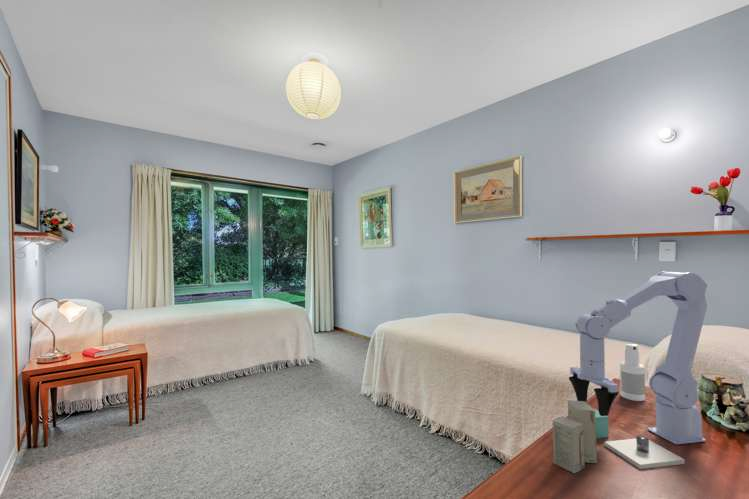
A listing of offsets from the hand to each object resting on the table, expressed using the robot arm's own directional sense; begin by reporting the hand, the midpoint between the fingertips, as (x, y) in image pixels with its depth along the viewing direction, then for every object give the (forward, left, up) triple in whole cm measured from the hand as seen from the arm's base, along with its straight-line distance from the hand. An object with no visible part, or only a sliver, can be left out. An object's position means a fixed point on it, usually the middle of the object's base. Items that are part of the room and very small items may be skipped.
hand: (592, 409), depth 96 cm
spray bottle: (-32, -19, -7) cm, 38 cm away
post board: (-4, +11, -7) cm, 13 cm away
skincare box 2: (+11, +9, -7) cm, 16 cm away
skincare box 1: (+17, +12, -7) cm, 22 cm away
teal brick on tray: (0, 0, -7) cm, 7 cm away
